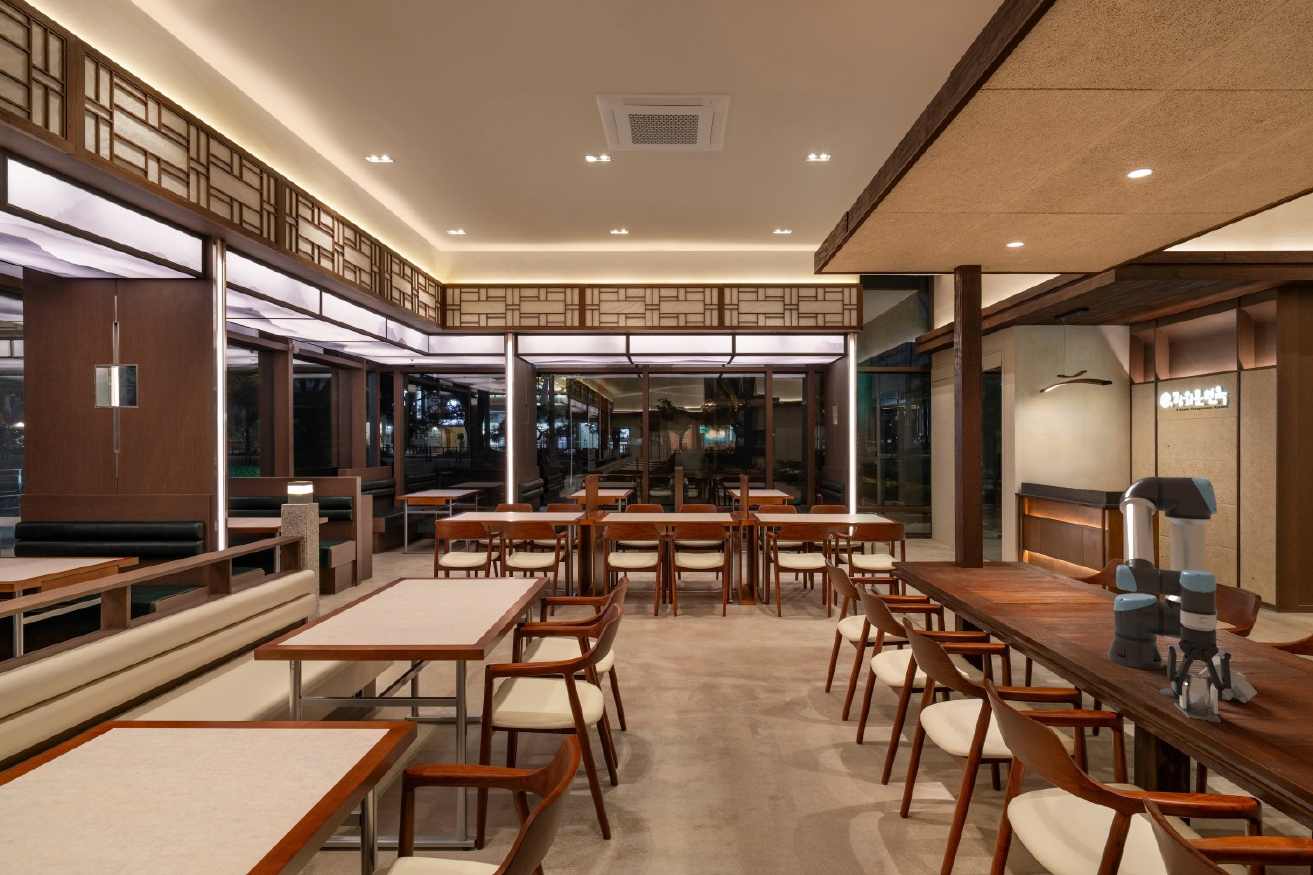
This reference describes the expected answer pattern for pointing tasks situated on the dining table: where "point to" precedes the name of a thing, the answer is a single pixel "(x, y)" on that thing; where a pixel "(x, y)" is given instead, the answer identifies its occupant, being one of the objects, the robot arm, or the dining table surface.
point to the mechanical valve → (1238, 684)
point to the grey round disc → (1168, 693)
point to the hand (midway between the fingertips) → (1198, 709)
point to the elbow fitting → (1197, 698)
